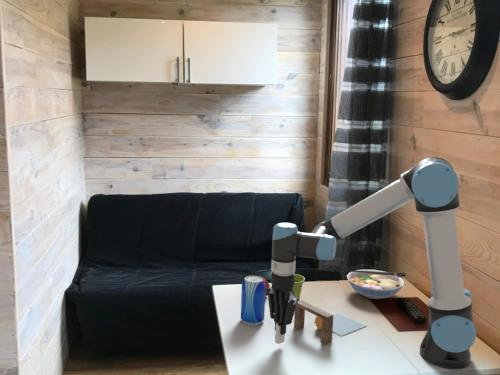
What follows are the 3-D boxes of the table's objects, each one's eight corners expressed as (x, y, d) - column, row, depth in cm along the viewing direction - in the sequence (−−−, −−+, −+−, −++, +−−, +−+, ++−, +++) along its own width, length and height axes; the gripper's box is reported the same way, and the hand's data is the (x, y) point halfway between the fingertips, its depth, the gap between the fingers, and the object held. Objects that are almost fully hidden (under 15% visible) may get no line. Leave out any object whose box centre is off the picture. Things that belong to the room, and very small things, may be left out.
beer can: (259, 328, 181) (261, 284, 179) (237, 324, 184) (238, 281, 181) (267, 318, 189) (268, 276, 186) (245, 314, 192) (246, 273, 189)
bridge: (299, 325, 184) (301, 299, 183) (331, 342, 173) (333, 315, 171) (293, 328, 182) (295, 301, 181) (325, 345, 171) (327, 317, 169)
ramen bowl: (342, 303, 205) (344, 283, 203) (343, 283, 227) (344, 265, 226) (408, 310, 201) (410, 290, 199) (402, 288, 223) (404, 270, 221)
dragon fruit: (255, 306, 204) (257, 298, 216) (273, 294, 203) (274, 287, 215) (243, 287, 204) (245, 281, 216) (261, 276, 203) (263, 270, 215)
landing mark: (366, 326, 185) (366, 326, 185) (341, 336, 177) (341, 335, 177) (338, 313, 195) (338, 313, 195) (313, 322, 187) (313, 322, 187)
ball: (326, 336, 179) (337, 326, 182) (322, 322, 176) (333, 312, 180) (313, 330, 183) (324, 320, 186) (309, 317, 181) (320, 307, 184)
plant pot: (302, 304, 203) (303, 283, 201) (278, 302, 205) (279, 280, 203) (304, 295, 212) (305, 275, 210) (281, 293, 214) (282, 272, 212)
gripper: (260, 268, 166) (257, 337, 171) (288, 280, 156) (284, 353, 161) (278, 264, 171) (275, 331, 175) (306, 276, 161) (302, 346, 165)
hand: (279, 342), depth 168 cm, fingers closed
